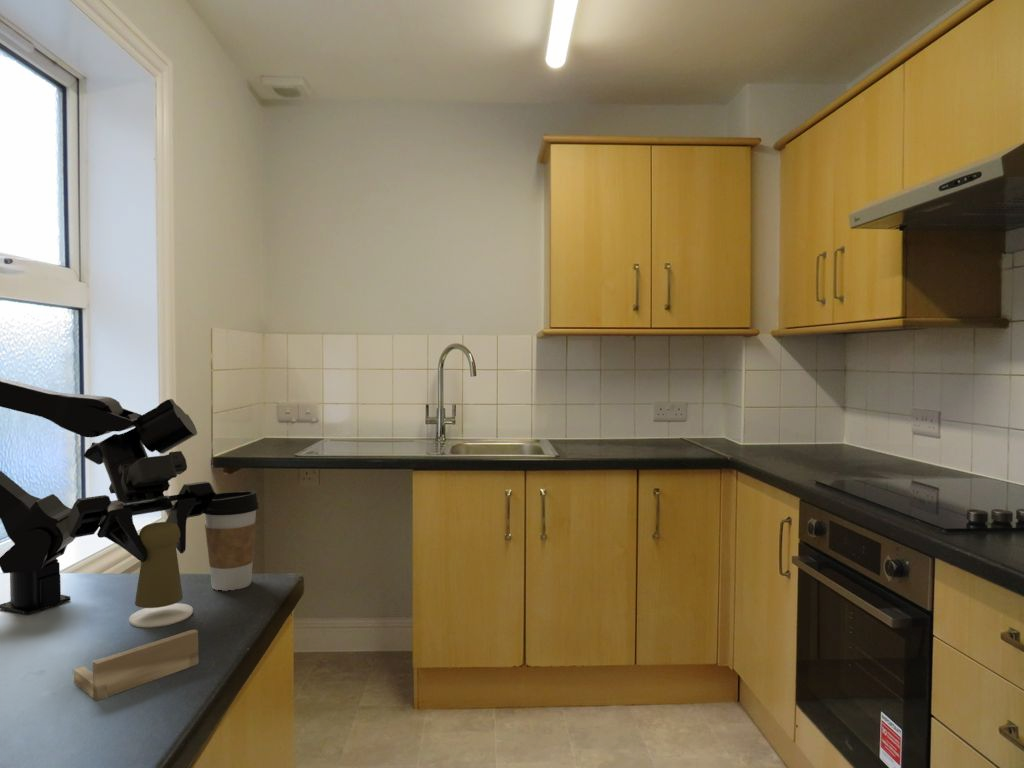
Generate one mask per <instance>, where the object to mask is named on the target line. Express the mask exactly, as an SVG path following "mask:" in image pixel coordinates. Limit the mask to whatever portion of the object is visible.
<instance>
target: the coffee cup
mask: <svg viewBox="0 0 1024 768" xmlns="http://www.w3.org/2000/svg"><path fill="white" fill-rule="evenodd" d="M258 509H259V502H258V497H257V491H255V490H248V491H247V490H246V491H243V490H242V491H228V492H227V491H226V492H225V491H224V492H219V493H216V494H215V496H214V497H213V499H212V501H211V502H210V504H209V506H208V507H207V509H206V510H205V512H204V513H203V515H204V514H205V515H204V517H205V524H204V529H205V538H206V547H207V548H206V549H207V555H208V563H209V572H210V581H211V588H212V589H213V590H214V589H215V591H218V590H222V591H221V592H228V590H231V591H236V589H237V590H240V589H244V588H247V587H248V586H250V585H251V584H252V576H253V575H252V573H253V561H254V554H255V553H254V552H255V543H256V533H257V530H256V529H257V520H256V518H257V517H256V515H257V514H256V513H257V510H258Z"/></svg>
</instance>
